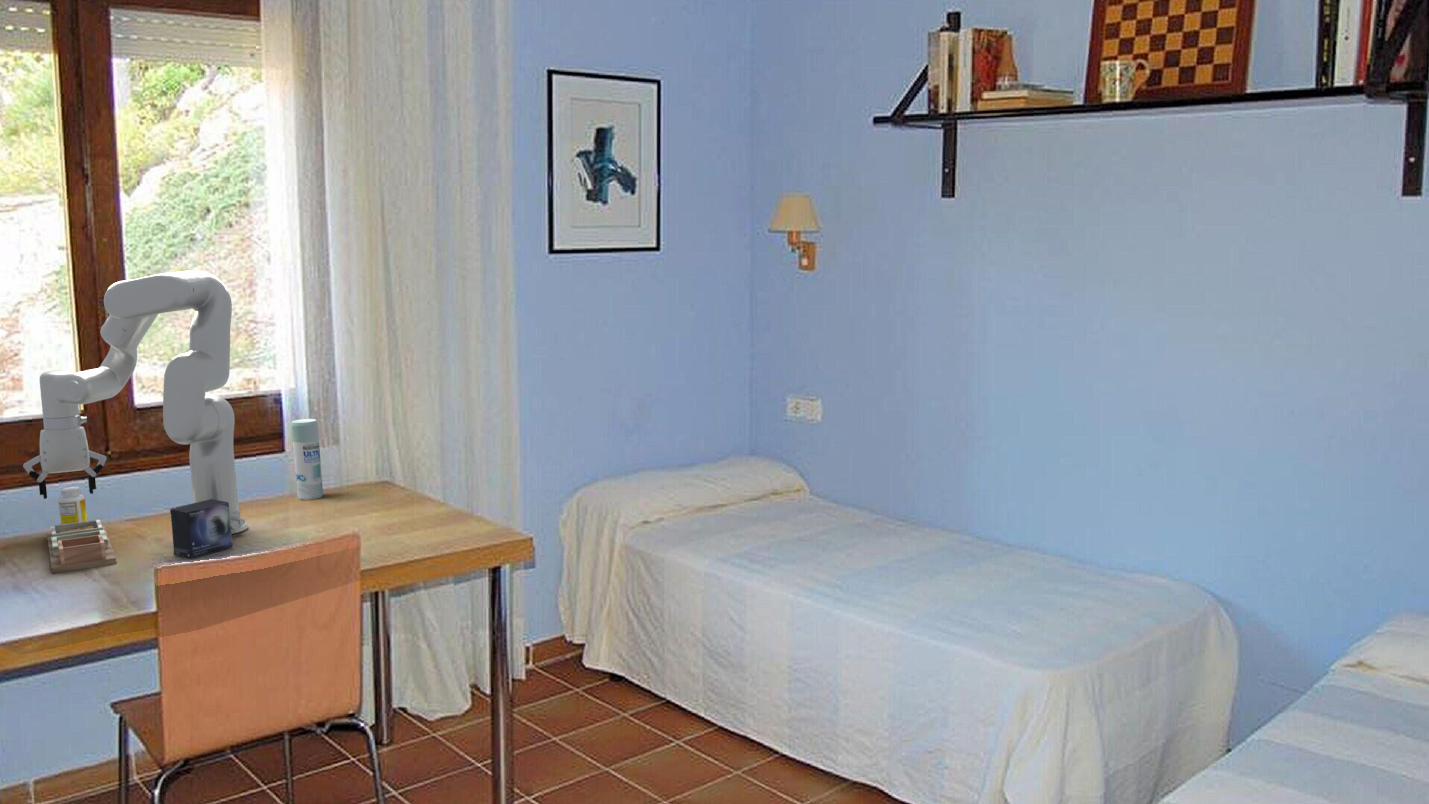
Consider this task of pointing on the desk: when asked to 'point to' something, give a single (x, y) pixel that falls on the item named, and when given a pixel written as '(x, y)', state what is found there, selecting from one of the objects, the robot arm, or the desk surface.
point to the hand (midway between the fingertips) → (68, 495)
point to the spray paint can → (307, 458)
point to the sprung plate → (76, 529)
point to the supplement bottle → (72, 506)
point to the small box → (201, 528)
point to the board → (79, 547)
